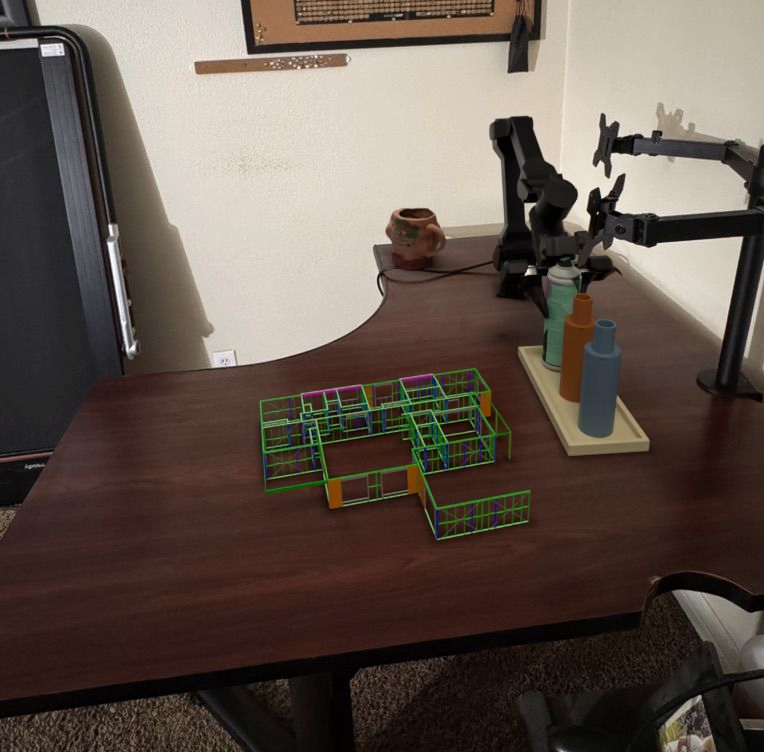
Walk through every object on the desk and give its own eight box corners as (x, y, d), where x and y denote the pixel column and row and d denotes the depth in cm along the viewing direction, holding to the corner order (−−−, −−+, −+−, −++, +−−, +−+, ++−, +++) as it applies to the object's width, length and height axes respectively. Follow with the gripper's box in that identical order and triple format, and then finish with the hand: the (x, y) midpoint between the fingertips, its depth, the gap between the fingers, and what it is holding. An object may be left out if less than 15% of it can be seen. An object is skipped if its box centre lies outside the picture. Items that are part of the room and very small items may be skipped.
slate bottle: (577, 418, 97) (586, 314, 91) (612, 423, 96) (623, 317, 90) (577, 438, 93) (586, 329, 87) (613, 443, 91) (625, 333, 85)
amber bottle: (559, 386, 106) (566, 289, 99) (590, 390, 104) (600, 291, 98) (558, 403, 101) (565, 302, 95) (590, 407, 100) (600, 305, 94)
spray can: (577, 359, 112) (587, 254, 105) (568, 373, 108) (577, 266, 100) (547, 351, 115) (554, 249, 107) (537, 365, 110) (544, 260, 103)
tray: (517, 355, 116) (518, 346, 115) (579, 351, 116) (580, 343, 116) (568, 456, 89) (569, 445, 89) (648, 451, 90) (650, 440, 89)
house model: (473, 390, 106) (473, 365, 104) (554, 516, 79) (556, 485, 77) (262, 423, 99) (259, 397, 98) (272, 573, 72) (268, 541, 70)
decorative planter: (463, 267, 157) (464, 214, 152) (431, 282, 149) (430, 226, 144) (405, 250, 170) (404, 200, 166) (373, 262, 163) (370, 211, 158)
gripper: (505, 216, 105) (519, 304, 99) (615, 211, 106) (636, 298, 99) (493, 244, 115) (505, 326, 109) (594, 239, 116) (611, 320, 110)
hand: (563, 317), depth 106 cm, fingers closed on spray can, 5 cm apart
